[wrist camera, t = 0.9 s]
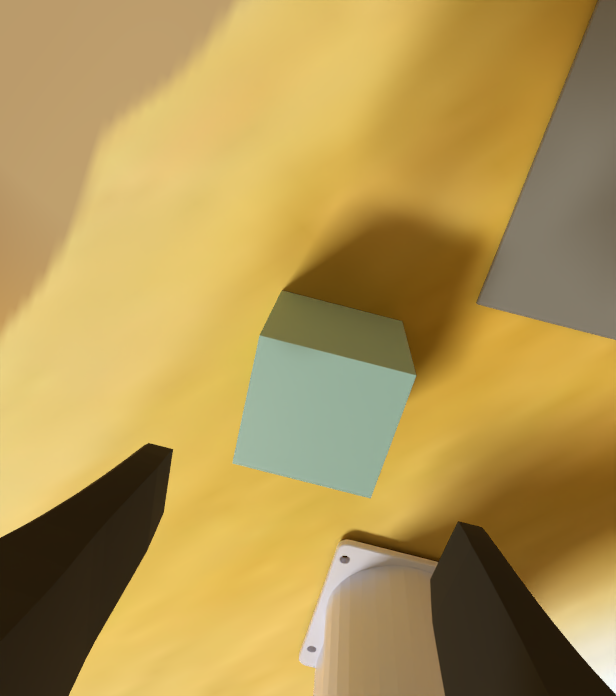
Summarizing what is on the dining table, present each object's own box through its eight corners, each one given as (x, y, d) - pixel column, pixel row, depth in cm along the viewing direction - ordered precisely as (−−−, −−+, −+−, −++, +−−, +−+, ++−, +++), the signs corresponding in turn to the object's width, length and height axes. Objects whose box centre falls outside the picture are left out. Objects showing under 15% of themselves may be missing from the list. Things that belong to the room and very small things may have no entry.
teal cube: (367, 422, 21) (370, 498, 17) (258, 394, 21) (232, 463, 17) (402, 320, 19) (416, 375, 15) (282, 289, 19) (259, 335, 15)
